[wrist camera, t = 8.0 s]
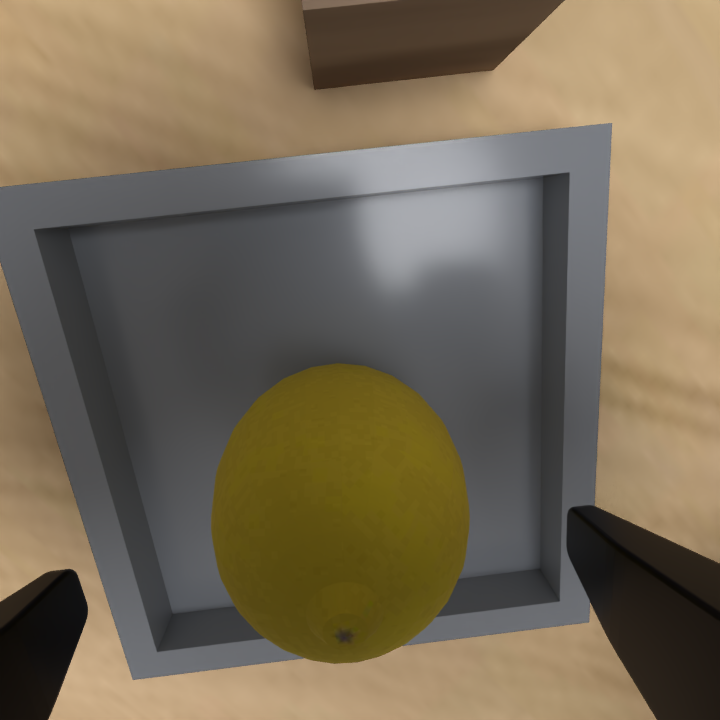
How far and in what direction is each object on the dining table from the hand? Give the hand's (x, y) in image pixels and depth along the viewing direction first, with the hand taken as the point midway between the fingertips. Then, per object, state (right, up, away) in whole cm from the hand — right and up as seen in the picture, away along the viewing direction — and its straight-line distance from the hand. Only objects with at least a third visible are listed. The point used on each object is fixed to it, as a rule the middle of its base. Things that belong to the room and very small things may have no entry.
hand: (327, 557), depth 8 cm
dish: (0, +2, +7) cm, 7 cm away
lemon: (0, +2, +6) cm, 7 cm away
